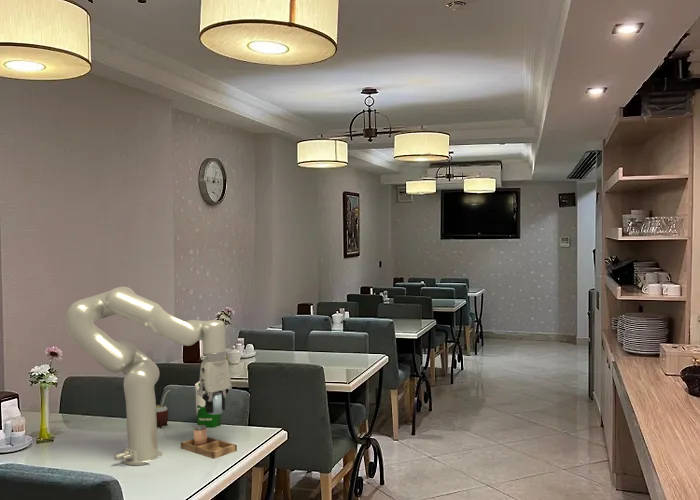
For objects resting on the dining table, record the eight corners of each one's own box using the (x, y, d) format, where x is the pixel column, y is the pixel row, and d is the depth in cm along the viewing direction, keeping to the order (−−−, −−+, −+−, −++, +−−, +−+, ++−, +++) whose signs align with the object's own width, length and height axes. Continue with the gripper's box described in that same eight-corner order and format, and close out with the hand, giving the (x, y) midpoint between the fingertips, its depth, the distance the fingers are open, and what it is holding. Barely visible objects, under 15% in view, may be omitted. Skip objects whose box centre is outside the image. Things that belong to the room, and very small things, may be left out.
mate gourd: (149, 425, 262) (147, 388, 261) (169, 422, 265) (167, 385, 265) (151, 430, 255) (150, 391, 255) (172, 427, 258) (171, 389, 258)
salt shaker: (214, 415, 220) (214, 393, 220) (206, 413, 223) (205, 392, 222) (224, 412, 223) (224, 391, 223) (216, 410, 226) (216, 389, 226)
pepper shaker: (199, 450, 225) (198, 429, 225) (191, 447, 228) (190, 427, 227) (209, 446, 228) (209, 426, 228) (202, 444, 231) (201, 424, 231)
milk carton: (194, 431, 252) (192, 379, 251) (202, 424, 261) (200, 374, 260) (217, 431, 251) (214, 378, 250) (223, 424, 260) (221, 373, 259)
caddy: (213, 462, 215) (213, 452, 215) (181, 451, 227) (180, 442, 227) (237, 454, 222) (236, 444, 222) (204, 444, 235) (203, 435, 235)
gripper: (201, 362, 214) (202, 418, 214) (240, 354, 227) (241, 407, 227) (186, 359, 218) (188, 414, 219) (226, 352, 232) (227, 404, 232)
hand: (215, 410), depth 223 cm, fingers closed on salt shaker, 4 cm apart
